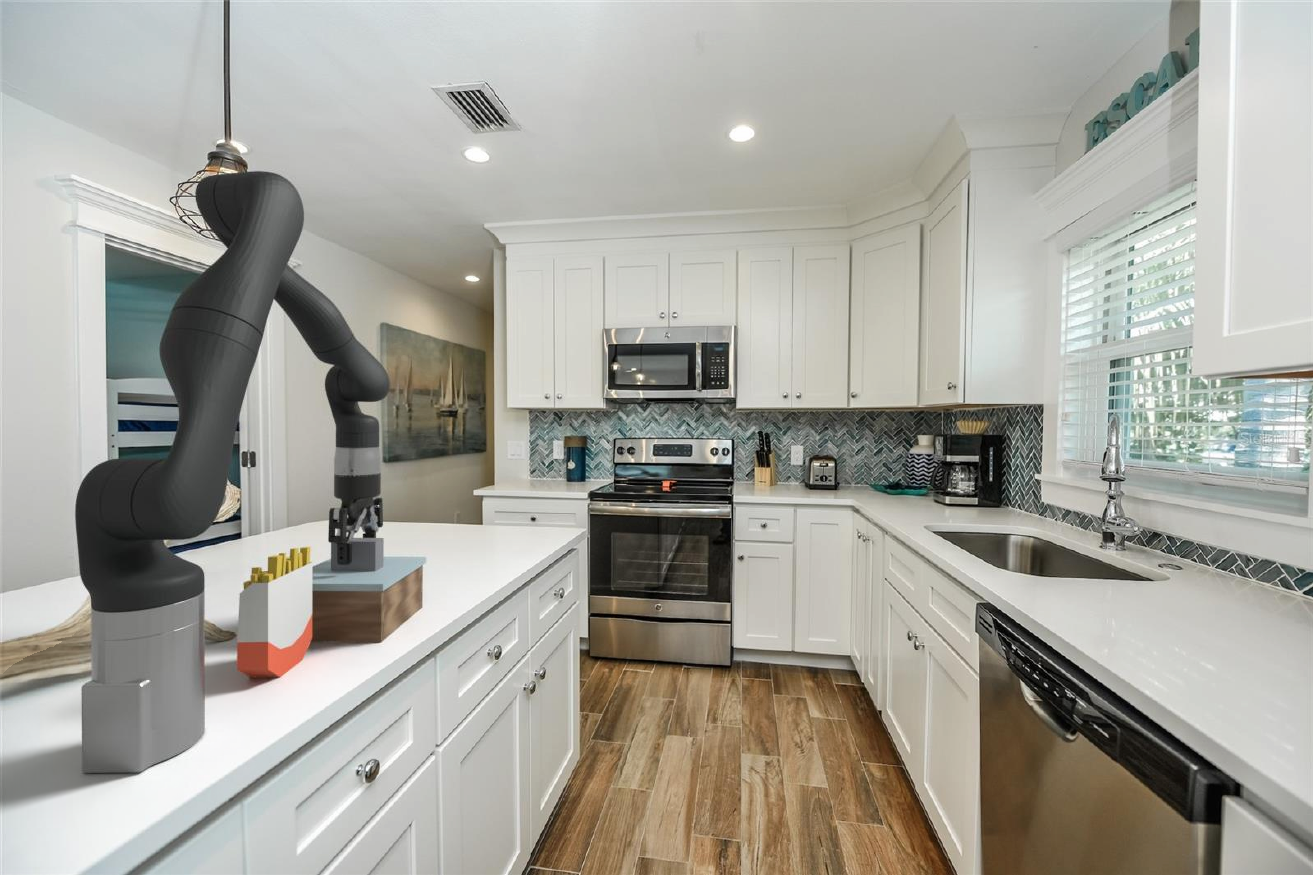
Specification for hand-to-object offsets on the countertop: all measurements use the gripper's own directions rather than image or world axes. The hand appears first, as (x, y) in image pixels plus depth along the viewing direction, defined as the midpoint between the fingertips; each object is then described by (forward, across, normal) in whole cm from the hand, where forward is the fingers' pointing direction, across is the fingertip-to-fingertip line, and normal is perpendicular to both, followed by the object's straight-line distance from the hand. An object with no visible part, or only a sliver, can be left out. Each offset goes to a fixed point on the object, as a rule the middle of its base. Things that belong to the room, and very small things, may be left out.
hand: (357, 558), depth 96 cm
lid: (+4, 0, 0) cm, 4 cm away
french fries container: (+12, -18, +2) cm, 22 cm away
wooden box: (+12, 0, 0) cm, 12 cm away
